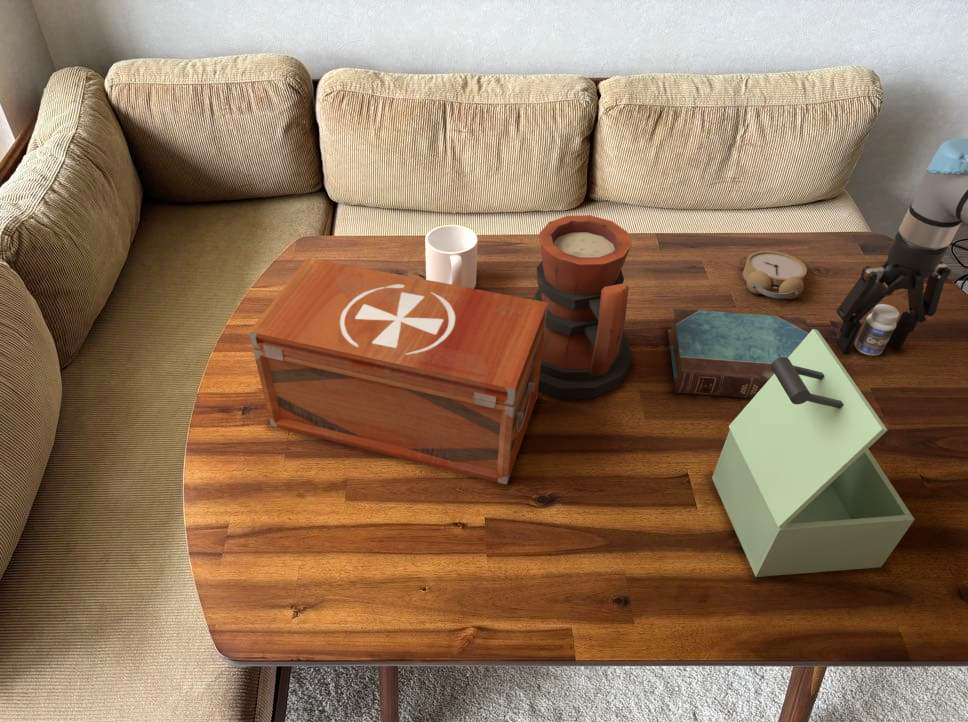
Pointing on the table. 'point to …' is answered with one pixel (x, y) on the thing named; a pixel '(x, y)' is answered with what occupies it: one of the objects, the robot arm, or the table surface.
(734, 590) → the table surface
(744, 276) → the alarm clock
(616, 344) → the tankard
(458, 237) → the mug
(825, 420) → the lid
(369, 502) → the table surface
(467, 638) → the table surface
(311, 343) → the wooden box
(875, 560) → the chest
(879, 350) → the pill bottle
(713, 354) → the book
